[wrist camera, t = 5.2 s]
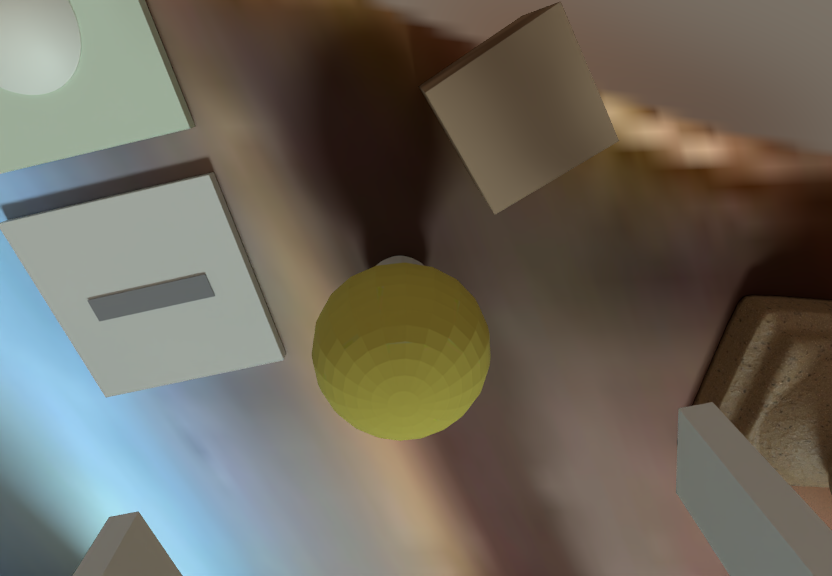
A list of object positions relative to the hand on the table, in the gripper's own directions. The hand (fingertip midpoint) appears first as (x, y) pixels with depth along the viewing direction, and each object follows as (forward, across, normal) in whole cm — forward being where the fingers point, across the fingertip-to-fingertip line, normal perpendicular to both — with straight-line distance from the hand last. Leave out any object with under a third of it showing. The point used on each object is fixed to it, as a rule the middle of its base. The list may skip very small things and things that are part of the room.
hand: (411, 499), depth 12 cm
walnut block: (+14, +6, +7) cm, 17 cm away
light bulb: (+14, 0, 0) cm, 14 cm away
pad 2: (+14, -12, +2) cm, 18 cm away
